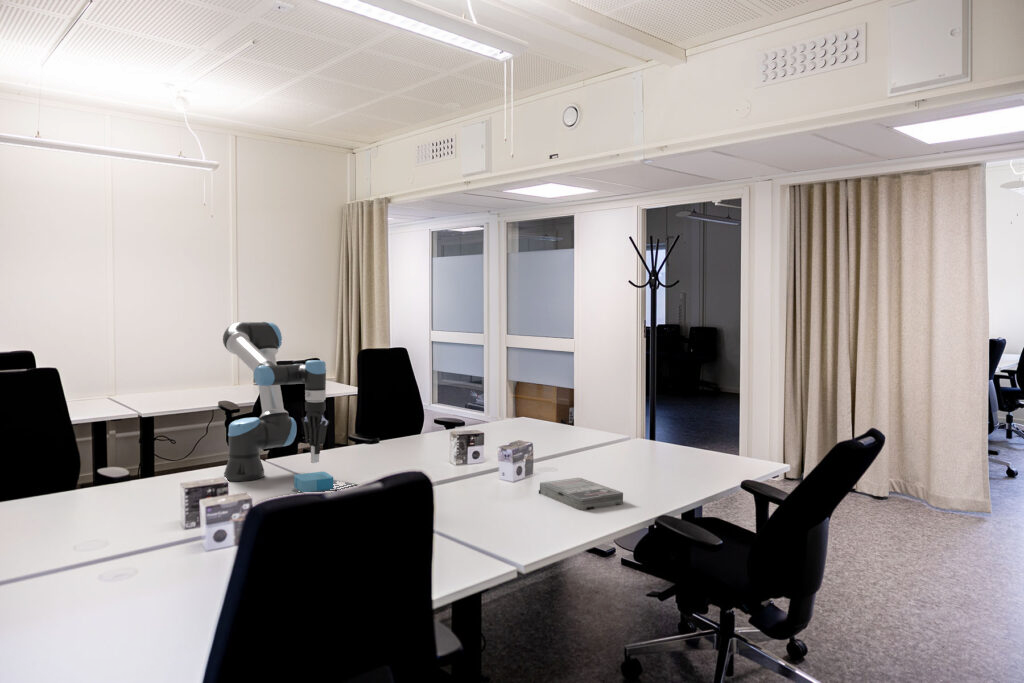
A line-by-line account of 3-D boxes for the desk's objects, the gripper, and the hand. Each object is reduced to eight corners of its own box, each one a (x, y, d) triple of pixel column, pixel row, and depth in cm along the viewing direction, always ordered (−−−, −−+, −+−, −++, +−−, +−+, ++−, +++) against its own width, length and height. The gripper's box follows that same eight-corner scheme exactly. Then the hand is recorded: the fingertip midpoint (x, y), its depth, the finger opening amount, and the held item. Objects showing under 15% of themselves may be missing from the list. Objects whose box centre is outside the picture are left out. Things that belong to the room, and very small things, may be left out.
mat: (291, 490, 255) (291, 489, 255) (332, 480, 272) (332, 479, 272) (317, 496, 247) (317, 495, 247) (357, 485, 264) (357, 484, 264)
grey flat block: (579, 488, 264) (579, 477, 264) (624, 505, 240) (624, 492, 240) (538, 494, 254) (538, 482, 254) (581, 512, 231) (581, 499, 231)
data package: (293, 486, 260) (302, 493, 250) (293, 474, 260) (302, 480, 249) (324, 482, 266) (334, 489, 256) (324, 471, 266) (334, 477, 256)
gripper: (295, 400, 262) (295, 461, 263) (319, 403, 255) (319, 466, 256) (311, 398, 268) (310, 458, 269) (334, 401, 261) (334, 462, 262)
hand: (314, 462), depth 262 cm, fingers closed
